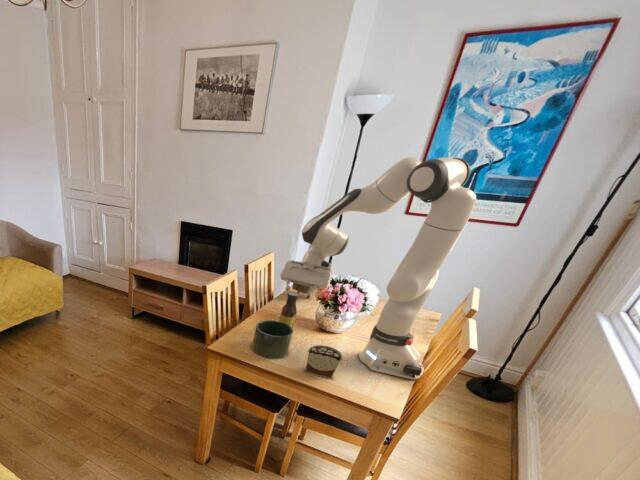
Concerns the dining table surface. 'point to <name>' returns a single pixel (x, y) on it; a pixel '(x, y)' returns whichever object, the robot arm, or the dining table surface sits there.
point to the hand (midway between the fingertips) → (297, 292)
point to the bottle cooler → (272, 339)
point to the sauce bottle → (289, 310)
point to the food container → (323, 360)
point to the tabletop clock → (302, 288)
